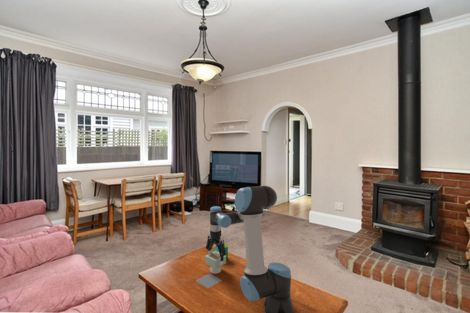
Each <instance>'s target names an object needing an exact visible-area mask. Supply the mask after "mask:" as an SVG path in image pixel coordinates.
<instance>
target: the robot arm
mask: <svg viewBox="0 0 470 313" xmlns="http://www.w3.org/2000/svg"><path fill="white" fill-rule="evenodd" d="M277 200H278V194H277V192H276V191H275V189H274V188H273V187H271V186H270V185H269V186H268V185H259V186H258V185H257V186H246V187H241V188H239V189H238V190H237V191H236V193H235V196H234V206H235V209H236V210H237V211H232V212H226V213H225V212H222V207H221V206H218V205H217V206H216V205H215V206H214V205H213V206H212V207H210V208H209V210H210V211H209V230H210V231H209V235H207V240H206V241H207V242H206V245H205V249H206V250H207V254H211V253H212V251H213V250H212V249H213V246H214V245H215V247H216V246H217V248H218V251H219V254H220V256H219V266H221V267H222V266H224V264H223V260H224V256H225V255H226V252H225V246H224V244H225V240H224V239H222V238H221V236H222V228H224V229H227V228H228V227H230V226H231V225H236V224H243V228H244V229H243V231H244V243H245V246H244V247H245V260H246V267H245V268H244V270H243V272H244V274H243V275H242V276H241V277H240V279H239V284H240V289H241V291H242V294H243V295H244V297H245V298H246V299H247V300H248V301H249V302H255V301H259V300H262V299H264V298H265V300H264V302H263V309H264V312H265V313H294V305H293V301H292V297H291V285H292V284H291V282H292V281H291V280H292V274H291V269H290V267H289V266H288V265H286V264H284V263H281V262H269V263H268V265H267V267H266V266H265V260H264V259H265V258H264V246H263V234H262V233H263V231H262V230H263V229H262V220H261V219H262V218H261V217H262V216H263V215H264V210H268V209H270V208H272V207H274V206H275V204H277Z"/></svg>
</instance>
